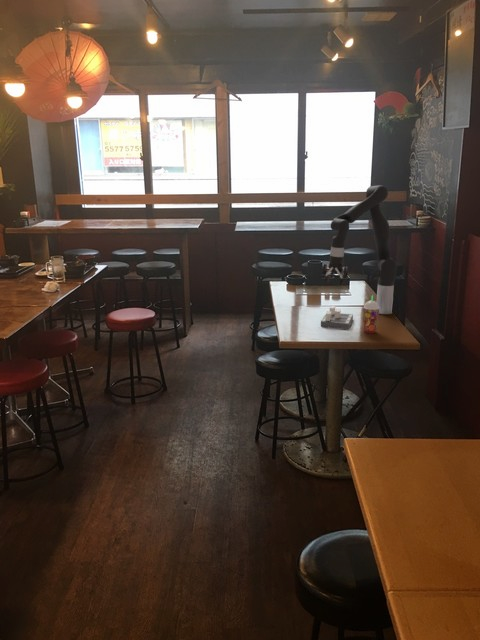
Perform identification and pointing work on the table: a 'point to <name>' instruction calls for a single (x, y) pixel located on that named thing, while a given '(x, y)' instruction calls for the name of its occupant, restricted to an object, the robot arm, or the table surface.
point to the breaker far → (332, 310)
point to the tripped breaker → (337, 313)
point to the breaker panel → (338, 321)
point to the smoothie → (370, 316)
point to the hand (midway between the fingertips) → (334, 283)
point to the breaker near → (328, 316)
